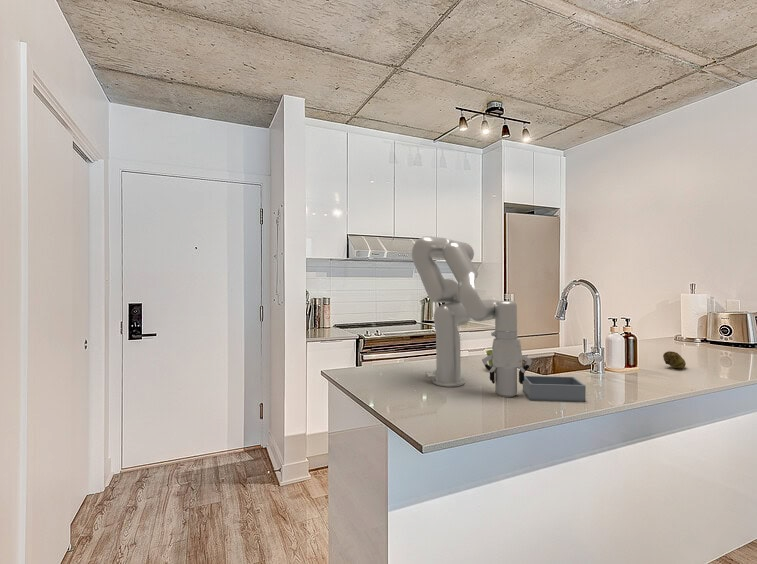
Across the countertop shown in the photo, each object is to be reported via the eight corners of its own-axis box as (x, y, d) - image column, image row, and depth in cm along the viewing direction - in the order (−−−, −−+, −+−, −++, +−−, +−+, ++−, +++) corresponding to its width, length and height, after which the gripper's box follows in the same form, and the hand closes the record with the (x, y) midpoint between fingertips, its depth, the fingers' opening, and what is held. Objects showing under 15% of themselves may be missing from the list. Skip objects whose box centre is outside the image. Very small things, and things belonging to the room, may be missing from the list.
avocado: (694, 369, 186) (695, 351, 186) (673, 371, 182) (674, 353, 182) (676, 365, 194) (676, 348, 194) (655, 367, 190) (656, 350, 190)
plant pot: (485, 372, 184) (485, 352, 183) (486, 367, 193) (486, 349, 192) (507, 373, 181) (507, 353, 181) (507, 369, 190) (507, 350, 190)
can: (518, 398, 146) (518, 364, 146) (496, 397, 147) (496, 363, 147) (515, 392, 153) (515, 359, 153) (494, 391, 155) (494, 359, 154)
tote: (530, 400, 143) (530, 384, 143) (522, 390, 155) (522, 375, 155) (585, 401, 141) (585, 385, 141) (573, 391, 153) (573, 376, 153)
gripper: (482, 336, 147) (483, 385, 147) (533, 336, 145) (534, 386, 145) (480, 333, 155) (481, 379, 155) (528, 333, 152) (529, 380, 153)
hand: (506, 382), depth 150 cm, fingers open, 9 cm apart
